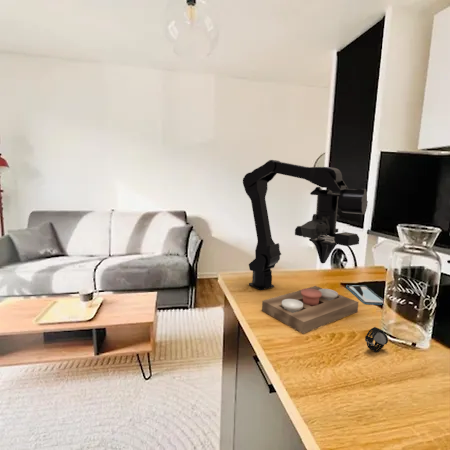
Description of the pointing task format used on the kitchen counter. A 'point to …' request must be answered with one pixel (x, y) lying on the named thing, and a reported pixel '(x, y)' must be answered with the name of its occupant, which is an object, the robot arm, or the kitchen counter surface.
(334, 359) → the kitchen counter surface
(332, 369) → the kitchen counter surface
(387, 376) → the kitchen counter surface
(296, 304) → the grey plug near
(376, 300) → the smartphone
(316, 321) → the socket board
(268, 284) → the robot arm
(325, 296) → the grey plug far
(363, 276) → the kitchen counter surface
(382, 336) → the smartwatch
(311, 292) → the red plug
